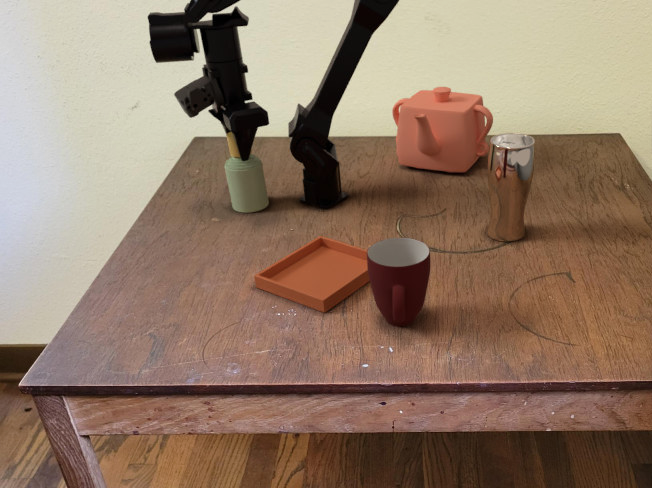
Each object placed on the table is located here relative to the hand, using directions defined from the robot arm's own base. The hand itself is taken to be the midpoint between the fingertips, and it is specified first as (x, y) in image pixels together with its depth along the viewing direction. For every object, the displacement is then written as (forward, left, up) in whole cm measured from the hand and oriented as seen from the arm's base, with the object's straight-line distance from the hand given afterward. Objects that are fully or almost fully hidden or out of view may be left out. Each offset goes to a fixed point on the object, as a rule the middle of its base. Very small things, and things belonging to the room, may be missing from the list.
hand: (241, 157), depth 121 cm
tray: (+13, +28, -9) cm, 32 cm away
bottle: (0, 0, -9) cm, 9 cm away
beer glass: (-14, +44, -9) cm, 47 cm away
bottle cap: (0, 0, +1) cm, 1 cm away
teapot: (-32, +19, -9) cm, 38 cm away
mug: (+17, +45, -9) cm, 49 cm away
